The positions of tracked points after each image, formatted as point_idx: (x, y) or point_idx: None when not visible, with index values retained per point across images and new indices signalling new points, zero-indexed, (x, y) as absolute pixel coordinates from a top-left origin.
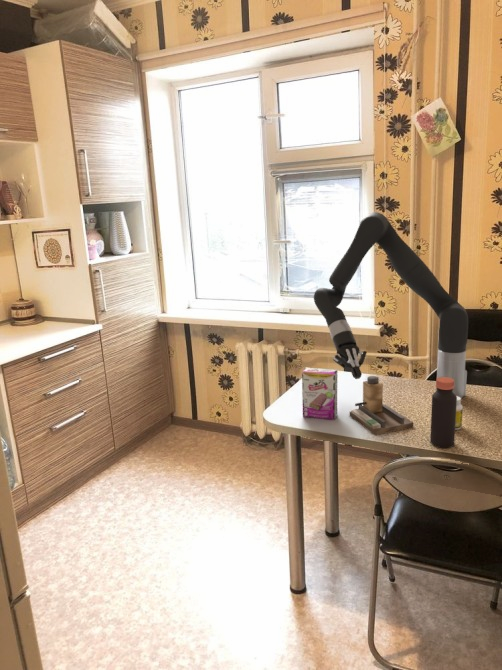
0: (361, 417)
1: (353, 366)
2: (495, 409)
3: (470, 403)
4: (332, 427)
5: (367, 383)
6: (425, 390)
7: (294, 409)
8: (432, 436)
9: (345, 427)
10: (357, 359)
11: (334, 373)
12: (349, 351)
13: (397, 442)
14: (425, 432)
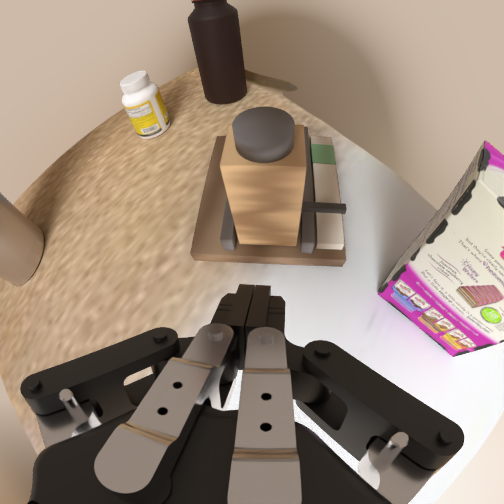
0: (338, 188)
1: (268, 331)
2: (47, 169)
3: (41, 203)
4: (415, 221)
5: (298, 143)
6: (28, 312)
7: (469, 387)
8: (245, 79)
9: (384, 205)
10: (180, 359)
11: (487, 146)
12: (230, 472)
13: (300, 113)
14: (217, 123)
